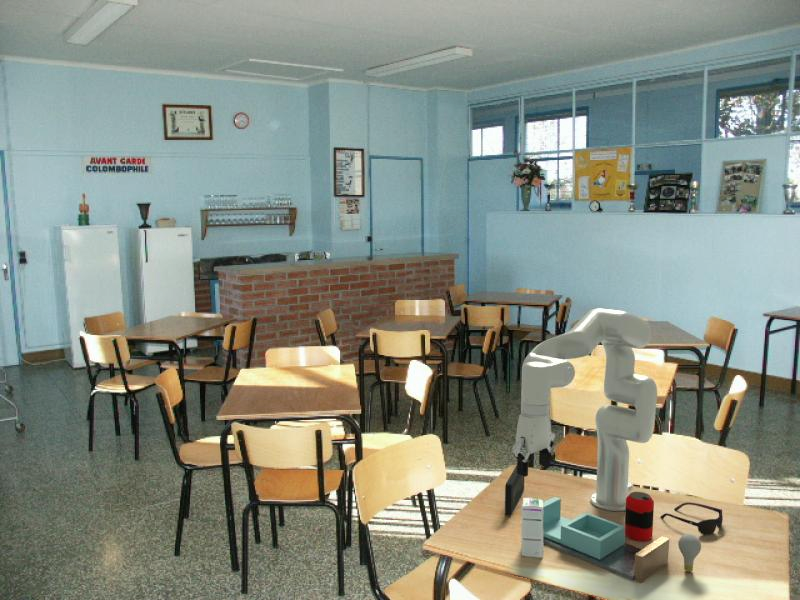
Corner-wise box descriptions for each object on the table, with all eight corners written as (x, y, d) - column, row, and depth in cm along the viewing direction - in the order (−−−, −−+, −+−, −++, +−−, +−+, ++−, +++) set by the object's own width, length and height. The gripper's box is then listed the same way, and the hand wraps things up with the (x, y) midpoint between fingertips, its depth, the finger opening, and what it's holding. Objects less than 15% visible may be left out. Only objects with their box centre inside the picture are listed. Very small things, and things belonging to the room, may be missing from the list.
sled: (556, 518, 215) (557, 495, 214) (624, 544, 199) (625, 519, 198) (531, 531, 207) (532, 507, 206) (600, 559, 191) (600, 534, 190)
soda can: (638, 544, 202) (640, 503, 200) (618, 533, 208) (620, 493, 207) (658, 538, 205) (660, 498, 204) (638, 527, 212) (639, 488, 210)
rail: (556, 519, 217) (557, 497, 216) (668, 563, 191) (670, 538, 190) (525, 535, 207) (526, 512, 206) (640, 583, 181) (641, 557, 180)
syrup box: (542, 558, 194) (544, 507, 192) (520, 556, 195) (521, 505, 193) (543, 548, 200) (544, 498, 198) (521, 546, 201) (522, 496, 199)
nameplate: (510, 516, 220) (511, 485, 218) (504, 515, 220) (505, 484, 219) (524, 490, 239) (524, 461, 238) (518, 489, 240) (519, 460, 238)
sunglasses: (706, 540, 205) (707, 523, 204) (655, 521, 216) (656, 505, 216) (728, 525, 214) (729, 509, 213) (677, 508, 225) (678, 493, 224)
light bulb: (673, 566, 189) (675, 530, 188) (693, 565, 190) (695, 529, 188) (683, 577, 184) (685, 540, 183) (703, 576, 185) (705, 539, 183)
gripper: (543, 399, 200) (541, 459, 202) (503, 412, 188) (502, 474, 191) (566, 405, 195) (563, 466, 197) (526, 418, 183) (525, 482, 185)
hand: (533, 470), depth 194 cm, fingers open, 9 cm apart
